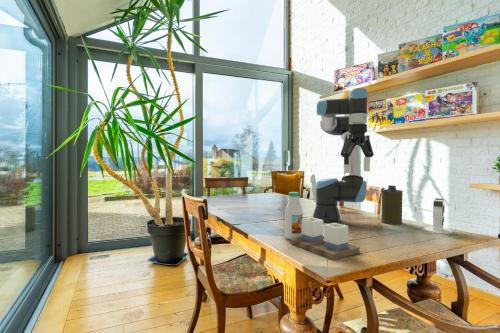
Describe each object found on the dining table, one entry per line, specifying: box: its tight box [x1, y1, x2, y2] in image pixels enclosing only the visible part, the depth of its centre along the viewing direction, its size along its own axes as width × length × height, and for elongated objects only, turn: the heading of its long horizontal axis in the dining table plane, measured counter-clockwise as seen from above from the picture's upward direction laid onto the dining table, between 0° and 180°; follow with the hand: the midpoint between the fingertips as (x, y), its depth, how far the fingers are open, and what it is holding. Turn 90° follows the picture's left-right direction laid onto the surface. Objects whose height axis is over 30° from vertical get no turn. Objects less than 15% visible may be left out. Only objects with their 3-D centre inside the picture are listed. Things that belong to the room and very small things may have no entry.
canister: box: [380, 185, 404, 226], centre depth 153 cm, size 11×10×20 cm
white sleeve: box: [323, 222, 349, 250], centre depth 105 cm, size 6×6×8 cm
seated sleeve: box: [302, 217, 324, 242], centre depth 115 cm, size 6×6×8 cm
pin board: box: [290, 235, 361, 261], centre depth 110 cm, size 22×14×7 cm, turn 33°
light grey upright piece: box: [423, 197, 453, 235], centre depth 136 cm, size 12×11×15 cm
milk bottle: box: [284, 191, 304, 240], centre depth 124 cm, size 8×8×20 cm
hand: (357, 171), depth 127 cm, fingers open, 13 cm apart
